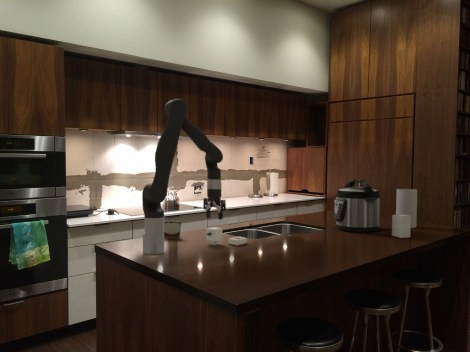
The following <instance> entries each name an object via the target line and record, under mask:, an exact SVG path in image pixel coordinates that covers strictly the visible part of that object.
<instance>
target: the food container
mask: <svg viewBox="0 0 470 352" xmlns="http://www.w3.org/2000/svg"><path fill="white" fill-rule="evenodd" d="M182 224H183V222H182V219H179V218H168V219H167V218H166V219H165V218H164V239H180V238H181V231H182V230H181V229H182Z"/></svg>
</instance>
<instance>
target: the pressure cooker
mask: <svg viewBox="0 0 470 352" xmlns="http://www.w3.org/2000/svg"><path fill="white" fill-rule="evenodd" d="M356 183H359V184H360V185H361V186H354V185H355V184H356ZM335 195H336V196H335V198H334V204H333V218H334V220H335V224H336V225H335V226H336V227H337V228H338V229H339V230H342V231H347V232H353V233H365V232H367V233H368V232H376V231H378V230H379V227H380V226H381V194H380V191H379V190H377V189H374V188H373V187H372V185H371V184H369V183H367V182H365V181H364V180H360V179H354V180H353V179H352V180H351V181H348V182H346V183H345V186H344V187H343V188H339V189H337V193H336V194H335Z"/></svg>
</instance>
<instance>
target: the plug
mask: <svg viewBox="0 0 470 352" xmlns="http://www.w3.org/2000/svg"><path fill="white" fill-rule="evenodd" d="M205 234H206V235H205V240H206V241H210V245H213V246H216V245H219V242H220V241H223V227H218V226H212V227H207V228H205Z"/></svg>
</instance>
